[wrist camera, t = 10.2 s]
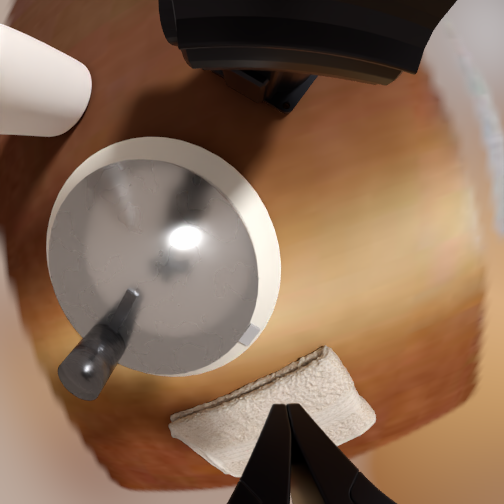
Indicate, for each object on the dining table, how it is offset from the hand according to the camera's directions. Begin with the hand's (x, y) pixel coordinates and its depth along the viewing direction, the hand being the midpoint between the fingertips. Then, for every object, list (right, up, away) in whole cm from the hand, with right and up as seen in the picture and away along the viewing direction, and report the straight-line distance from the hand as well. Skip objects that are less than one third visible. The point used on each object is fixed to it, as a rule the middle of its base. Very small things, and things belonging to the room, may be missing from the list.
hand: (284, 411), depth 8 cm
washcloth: (+1, -11, +17) cm, 21 cm away
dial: (-8, +4, +11) cm, 14 cm away
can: (-16, +17, +9) cm, 25 cm away
